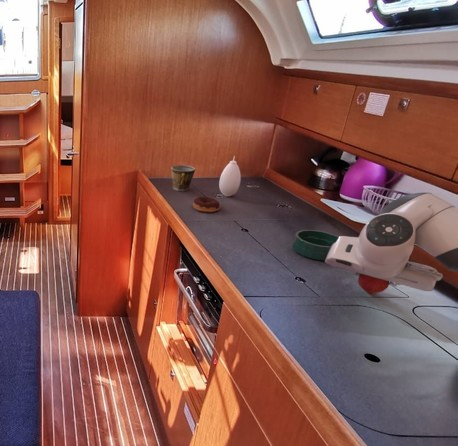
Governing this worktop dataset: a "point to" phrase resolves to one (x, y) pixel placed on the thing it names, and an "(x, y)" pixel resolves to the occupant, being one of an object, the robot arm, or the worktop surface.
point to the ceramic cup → (182, 177)
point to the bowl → (314, 243)
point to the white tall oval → (230, 179)
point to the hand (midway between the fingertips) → (374, 277)
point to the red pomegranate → (372, 284)
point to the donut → (206, 204)
